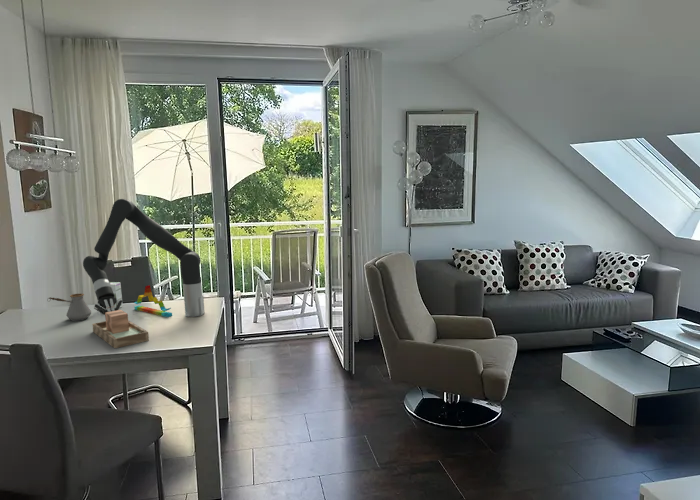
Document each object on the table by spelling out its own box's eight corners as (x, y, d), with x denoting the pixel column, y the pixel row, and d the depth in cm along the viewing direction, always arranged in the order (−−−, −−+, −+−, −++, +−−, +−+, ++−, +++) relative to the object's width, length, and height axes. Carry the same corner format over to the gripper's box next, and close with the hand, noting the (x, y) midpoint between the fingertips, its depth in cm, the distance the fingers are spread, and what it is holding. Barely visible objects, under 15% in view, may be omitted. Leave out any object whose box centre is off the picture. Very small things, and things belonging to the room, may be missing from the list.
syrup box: (123, 306, 282) (120, 281, 280) (117, 309, 277) (115, 284, 274) (113, 306, 283) (111, 281, 281) (107, 309, 277) (105, 284, 275)
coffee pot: (81, 314, 267) (78, 287, 264) (96, 316, 262) (93, 289, 260) (43, 326, 247) (40, 296, 245) (59, 328, 243) (55, 298, 241)
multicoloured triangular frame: (172, 316, 261) (170, 288, 258) (167, 317, 258) (165, 289, 256) (139, 308, 278) (137, 282, 276) (134, 309, 276) (132, 283, 273)
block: (106, 329, 231) (104, 312, 229) (122, 326, 235) (120, 309, 234) (113, 333, 223) (111, 316, 222) (129, 330, 228) (127, 313, 227)
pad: (106, 339, 224) (105, 333, 224) (133, 333, 232) (133, 327, 232) (113, 344, 216) (112, 338, 216) (141, 338, 224) (140, 332, 224)
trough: (93, 331, 235) (92, 323, 235) (124, 325, 245) (123, 317, 244) (114, 348, 211) (113, 339, 210) (148, 340, 221) (148, 331, 220)
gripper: (89, 288, 233) (99, 318, 226) (119, 283, 242) (129, 312, 235) (87, 297, 238) (97, 326, 231) (116, 292, 247) (126, 321, 239)
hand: (113, 319), depth 233 cm, fingers closed
